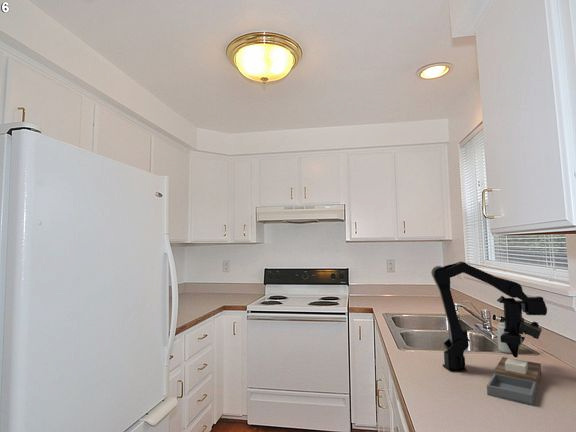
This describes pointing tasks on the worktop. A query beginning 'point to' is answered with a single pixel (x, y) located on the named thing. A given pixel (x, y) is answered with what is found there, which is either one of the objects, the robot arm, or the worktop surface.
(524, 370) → the tile
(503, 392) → the box
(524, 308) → the robot arm
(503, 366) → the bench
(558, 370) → the worktop surface
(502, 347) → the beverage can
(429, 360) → the worktop surface
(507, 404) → the worktop surface
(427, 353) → the worktop surface
